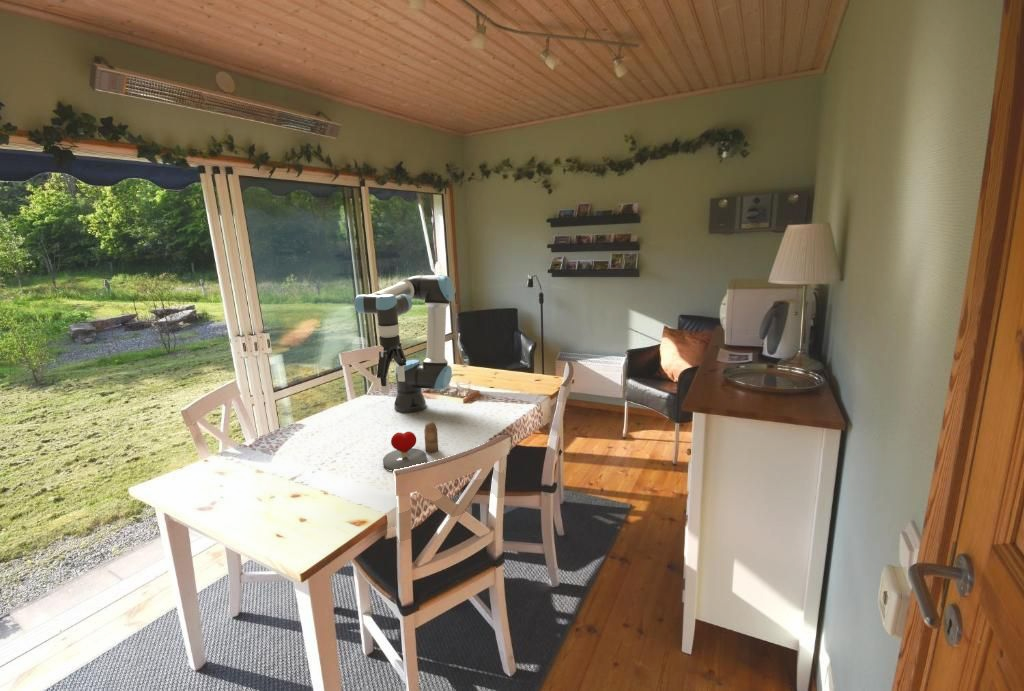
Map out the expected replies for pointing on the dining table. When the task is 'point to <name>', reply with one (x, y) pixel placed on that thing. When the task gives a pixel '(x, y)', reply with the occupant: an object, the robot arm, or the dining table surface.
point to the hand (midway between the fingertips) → (393, 387)
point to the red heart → (403, 442)
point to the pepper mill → (431, 438)
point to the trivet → (403, 459)
